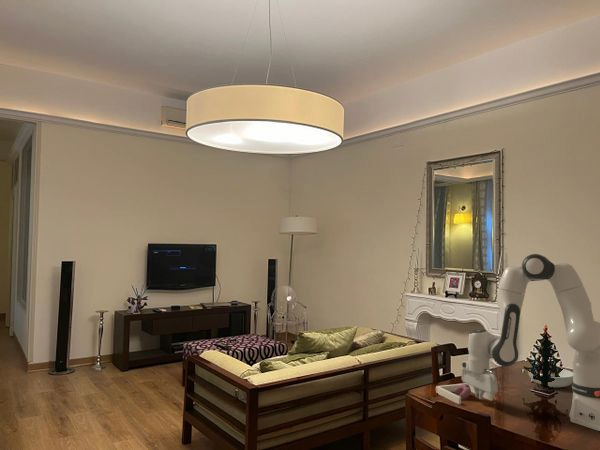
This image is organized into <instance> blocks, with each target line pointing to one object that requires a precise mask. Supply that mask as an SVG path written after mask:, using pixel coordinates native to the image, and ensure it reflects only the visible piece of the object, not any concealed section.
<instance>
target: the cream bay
mask: <svg viewBox="0 0 600 450" xmlns="http://www.w3.org/2000/svg"><path fill="white" fill-rule="evenodd" d="M463 383H464V382H463ZM461 384H462V383H456V384H445V385H436V386H435V393H436V394H437V393H438V395H440V396H442V397H443V398H445V399H447V400H450V401H451V402H454V403H455V404H457V405H462V400H461V397H459V395H458V394H455V389H457V388H458V387H459V386H460V385H461ZM464 384H467V383H464ZM467 385H469V384H467ZM469 386H470V389H471V393H473V394H475V391H474V387H473V386H471V385H469ZM479 392H480V391H479ZM483 399H485V400H488V401H494V394H490V393H487V392H485V393H484V394H483Z"/></svg>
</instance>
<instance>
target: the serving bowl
mask: <svg viewBox="0 0 600 450" xmlns="http://www.w3.org/2000/svg"><path fill="white" fill-rule="evenodd" d="M562 369H563V370H562V371H561V372H560V373H559V376H560V377H551V378H554V379H555V380H554V381H552V382H548V386H549V387H548V388H552V387H553V389H557V388H564V387H565V388H566V387H569V386H570V385H572V382H573V371H571V370H568V369H564V368H562ZM527 373H528V376H529V378H530V379H531V380H532V381H533V382H534V383H536V384H538V385H541V381H539V380H534V379H533V374H532V373H531V372H529V371H528V370H527Z"/></svg>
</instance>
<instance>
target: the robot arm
mask: <svg viewBox="0 0 600 450" xmlns="http://www.w3.org/2000/svg"><path fill="white" fill-rule="evenodd" d="M545 280H546V281H548V282H549V283H550V285H551V286H552V289H553V291H554V294H555V296H556V299H557V301H558V302H557V303H558V304H559V307H560V309H561V313H562V317H563V321H564V327H565V331H566V341H567V343H568V345H569V346H570V347H571V349H573V350H575V353H574V358H573V361H572V372H573V382H572V383H571V391H572V401H571V406H570V407H571V408H570V412H569V414H568V417H569V421H570V422H571V423H574V424H577V425H580V426H582V427H586V428H589V429H592V430H595V431H597V432H600V322H599V321H596V320H595V319H594V314H593V310H592V302H591V300H590V298H589V295H588V293H587V291H586V288H585V286H584V284H583V281H582V279H581V278H580V276H579V274H578V272H577V271H576V269H575V268H574V267H573V265H572V264H570V263H569V264H568V263H558V264H554V263H553V262H552V261H550V259H549V258H547V257H546V256H544V255H541V254H538V253H532V254H529V255H527V256H526V257H525V258H524V259H523V261H522V263H521V266H515V265H513V266H512V265H510V266H506V267H505V269H504V270H503V273H502V274H501V277H500V280H499V283H498V288H497V293H496V304H497V306H498V308H499V310H500V312H501V316H502V323H501V328H500V329H501V330H500V335H499V336H497V335H495V334H493V333H491V332H489V331H488V330H487V329H484V328H480V329H474V330H471V331H470V332H469V334H468V340H467V350H468V358H467V361H466V360H465V361H461V362H460V366H461V381H462V382H463V383H467V384H469V385H471V386H473V387H474V391H475V393H474V394H475V395H474V396H475V397H476V398H477V399H479V400H483V399H484V397H483V394H484V393H485V392H487V393H490V394H493V395H495V394H497V393H498V391H499V386H498V380H497V375H496V374H495V373H494V371H492V370H490V359H493V360H494V361H495V362H496V364H498V365H499V366H501V367H511V366H513V365H514V364H516V362H518V359H519V349H518V347H517V346H518V345H517V340H518V339H517V338H518V331H519V325H520V318H521V317H520V316H521V312H522V308H523V305H524V301H525V296H526V295H525V294H526V290H527V286H528V284H529V283H530V282H541V281H545ZM479 391H480V392H479Z"/></svg>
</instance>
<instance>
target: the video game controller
mask: <svg viewBox="0 0 600 450" xmlns="http://www.w3.org/2000/svg"><path fill="white" fill-rule="evenodd" d="M460 384H461V385H460V386H459V387H458V388H457V389H455V392H454V394H455V395H458V396H459V397H461V401H462V400H465V399H467V398H468V397H469V396H470V395H471V394H472V392H471V389H470V386H469V385H467V384H464V382H463V383H460Z"/></svg>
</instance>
